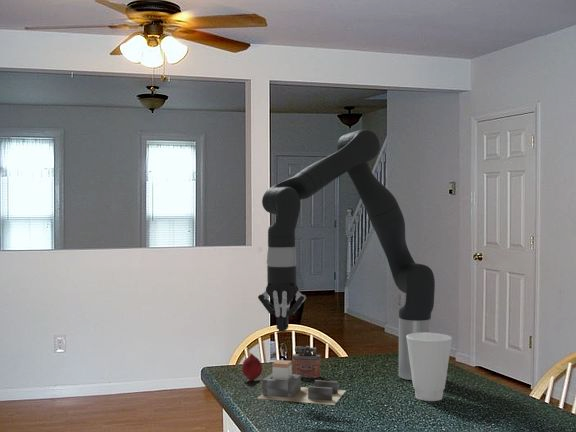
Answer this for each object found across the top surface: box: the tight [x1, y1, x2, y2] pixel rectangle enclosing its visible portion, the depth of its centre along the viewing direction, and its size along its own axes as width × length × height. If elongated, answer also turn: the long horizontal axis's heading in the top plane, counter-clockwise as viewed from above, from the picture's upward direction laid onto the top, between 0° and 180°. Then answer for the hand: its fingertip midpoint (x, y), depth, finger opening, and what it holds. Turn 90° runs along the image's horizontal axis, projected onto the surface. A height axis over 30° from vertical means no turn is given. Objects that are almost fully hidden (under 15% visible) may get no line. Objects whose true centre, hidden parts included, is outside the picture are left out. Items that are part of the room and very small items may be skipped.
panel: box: [256, 372, 347, 406], centre depth 182 cm, size 20×14×6 cm
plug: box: [272, 359, 293, 381], centre depth 184 cm, size 4×4×8 cm
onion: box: [241, 352, 263, 382], centre depth 202 cm, size 6×6×8 cm
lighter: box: [291, 345, 322, 379], centre depth 202 cm, size 8×3×10 cm, turn 84°
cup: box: [406, 332, 453, 402], centre depth 185 cm, size 12×12×16 cm
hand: (282, 330), depth 183 cm, fingers closed
